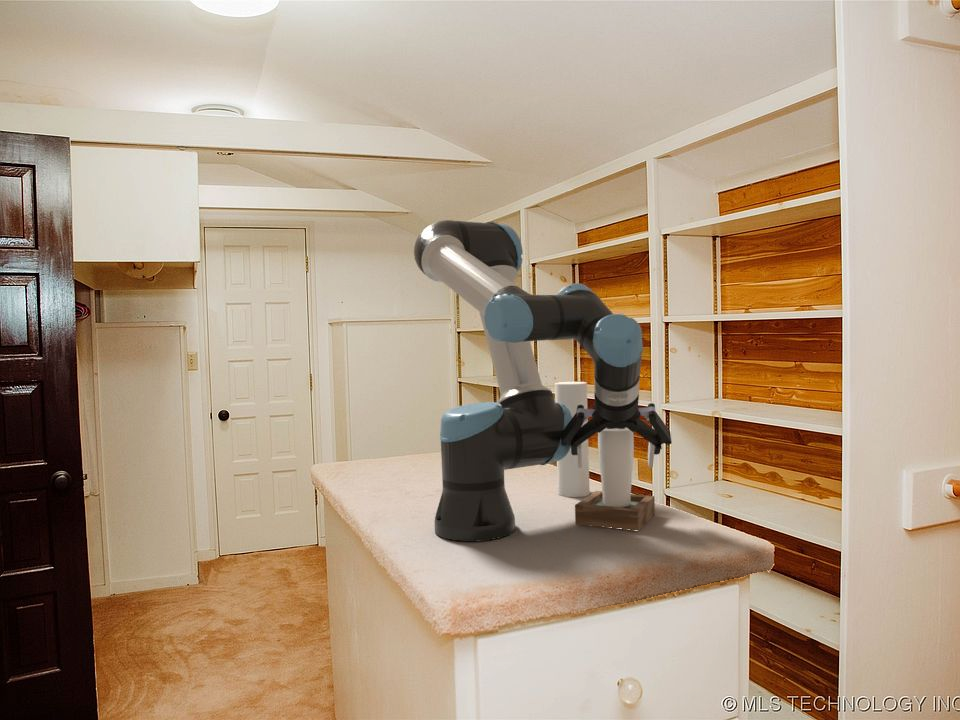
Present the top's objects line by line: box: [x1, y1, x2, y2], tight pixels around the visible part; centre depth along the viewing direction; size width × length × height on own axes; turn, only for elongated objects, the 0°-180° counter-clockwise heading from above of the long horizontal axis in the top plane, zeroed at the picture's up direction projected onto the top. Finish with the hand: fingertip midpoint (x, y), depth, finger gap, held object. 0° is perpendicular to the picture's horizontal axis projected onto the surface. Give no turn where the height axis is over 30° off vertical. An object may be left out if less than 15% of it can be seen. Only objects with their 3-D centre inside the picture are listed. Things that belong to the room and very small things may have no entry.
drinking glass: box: [597, 428, 635, 508], centre depth 128 cm, size 7×7×15 cm
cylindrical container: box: [554, 381, 591, 498], centre depth 149 cm, size 7×7×25 cm
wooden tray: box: [574, 490, 656, 531], centre depth 128 cm, size 12×12×4 cm
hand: (614, 461), depth 129 cm, fingers open, 13 cm apart
